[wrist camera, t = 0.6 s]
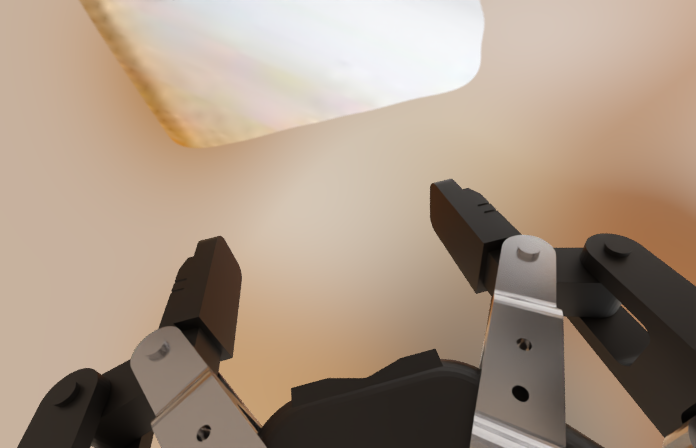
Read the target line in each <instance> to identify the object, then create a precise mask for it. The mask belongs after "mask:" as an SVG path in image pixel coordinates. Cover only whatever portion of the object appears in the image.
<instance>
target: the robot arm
mask: <svg viewBox="0 0 696 448" xmlns="http://www.w3.org/2000/svg"><path fill="white" fill-rule="evenodd" d="M430 219H431V223H432V226H433V228H434V231H435V232H436V234H437V235H438V237H439V238H440V240H441V241H442V243H443V244H444V246H445V247H446V249H447V250H448V252H449V253H450V255H451V256H452V258H453V259H454V261H455V263H456V264H457V265H458V267H459V269H460V270H461V271H462V273H463V275H464V276H465V278H466V279H467V281H468V282H469V283H470V285H471V287H472V288H473V289H474V291H475V293H476V294H477V293H481V292H484V291H488V292H489V293H490V295H491V296H492V298H491V303H490V309H489V314H488V320H487V326H486V332H485V337H484V343H483V349H482V354H481V360H480V364H479V368H477V367H475V366H472V365H469V364H467V363H464V362H460V361H455V360H447V359H440V358H439V356H438V353H437V351H436V349H433V350H429V351H425V352H421V353H418V354H415V355H410V356H407V357H404V358H400V359H398V360H397V361H395V362H394V363H392V364H390V365H388V366H387V367H385V368H383V369H381V370H380V371H379V372H376V373H375V374H373V375H372V376H369V377H367V378H327V379H323V380H319V381H316V382H312V383H308V384H305V385H301V386H297V387H294V388H291V395H292V400H291V401H290V402H288V403H286V404H285V405H284V406H282V407H281V408H280V409H279V410H277V411H276V412H275V413H274V414H273V415H272V416H271V417H270V418H269V420H268V421H267V422H266V423H265V424H264V426H262V425H261V424H260V423H259V421H258V420H257V419H256V418H255V417H254V416H253V414H252V413H251V412H250V411H249V409H248V408H247V407H246V406H245V404H244V403H243V402H242V400H241V399H240V398H239V397H238V395H237V394H236V393H235V392H234V390H233V389H232V388H231V386H230V385H229V384H228V383H227V381H226V380H225V379H224V378H223V376H222V375H221V374H220V373H219V372H218V371H219V364H220V361H223V360H227V359H230V358H232V357H233V350H234V340H235V332H236V324H237V316H238V307H239V299H240V290H241V281H242V276H241V270H240V267H239V264H238V262H237V261H236V259H235V257H234V255H233V254H232V252H231V250H230V248H229V247H228V245H227V243H226V241H225V240H224V238H223V237H222V236H217V237H214V238H209V239H205V240H201V241H199V243H198V244H197V248H196V251H195V255H194V256H193V257H190V258H188V259H187V260H186V261H185V263H184V264H183V265H182V266H181V268H180V269H179V271H178V274H177V277H176V280H175V284H174V285H173V288H172V293H171V294H170V297H169V300H168V303H167V305H166V308H165V311H164V314H163V317H162V320H161V323H160V326H159V329H158V330H156V331H154V332H152V333H151V334H149V335H148V336H146V337H145V338H144V339H143V340H142V341H141V342H140V343H139V344H138V346H137V347H136V349H135V350H134V352H133V354H132V357H131V359H130V360H128V361H127V362H124V363H123V364H121V365H119V366H117V367H115V368H113V369H111V370H110V371H108V372H106V373H104V374H102V375H101V374H100V373H98V372H96V371H95V370H94V369H90V368H84V369H80V370H77V371H75V372H73V373H71V374H69V375H67V376H66V377H64V378H63V379H62V380H60V381H59V382H58V383H57V384H56V385H54V387H52V388H51V390H50V391H49V392H48V393H47V394H46V396H45V397H44V398H43V400H42V401H41V403H40V405H39V407H38V409H37V411H36V413H35V415H34V416H33V418H32V420H31V422H30V424H29V426H28V428H27V430H26V432H25V434H24V436H23V438H22V439H21V441H20V443H19V445H18V447H17V448H90V446H92V447H94V448H150V447H151V443H152V439H153V434H155V436H156V438H157V440H158V442H159V444H160V446H161V448H604V447H602V446H601V445H599V444H598V443H596V442H594V441H593V440H591V439H590V438H588V437H587V436H585V435H583V434H582V433H580V432H579V431H577V430H576V429H574V428H572V427H571V426H569V425H568V424H566V423H565V381H564V380H565V378H564V331H563V316H566V317H567V318H568V319H569V320H570V322H571V323H572V324H573V325H574V326H575V328H576V329H577V330H578V331H579V333H580V334H581V335H582V336H583V338H584V339H585V340H586V341H587V343H588V344H589V345H590V346H591V348H593V350H594V351H595V352H596V354H597V355H598V356H599V357H600V359H601V360H602V361H603V362H604V364H605V365H606V366H607V367H608V368H609V370H610V371H611V372H612V373H613V375H614V376H615V377H616V378H617V380H618V381H619V382H620V383H621V384H622V386H623V387H624V388H625V390H626V391H627V392H628V393H629V394H630V396H631V397H632V398H633V399H634V401H635V402H636V403H637V404H638V406H639V407H640V408H641V409H642V411H643V412H644V413H645V414H646V415H647V417H648V418H649V419H650V420H651V422H652V423H653V424H654V425H655V426H656V428H657V429H658V430H659V432H660V433H661V434H662V435H663V436H664V437H665V440H664V442H663V448H696V286H694V285H693V284H692V283H690V282H689V281H688V280H686V279H685V278H684V277H683V276H681V275H680V274H679V273H677V272H676V271H675V270H673V269H672V268H671V267H669V266H668V265H667V264H665V263H664V262H663V261H661V260H660V259H659V258H657V257H656V256H654V255H653V254H652V253H651V252H650V251H648V250H647V249H646V248H644V247H643V246H642V245H640V244H639V243H637V242H635V241H634V240H631V239H629V238H627V237H624V236H620V235H616V234H596V235H593V236H591V237H590V238H588V239H587V241H586V243H585V245H584V248H553V247H552V246H551V245H550V244H549V243H547V242H546V241H544V240H542V239H540V238H537V237H534V236H530V235H522V234H521V233H519V232H518V231H517V230H516V229H515V228H514V227H513V226H512V225H511V224H510V223H509V222H508V221H507V220H506V219H505V218H504V217H503V216H502V215H501V214H500V213H499V212H498V211H496V209H495V208H494V207H493V206H492V205H491V204H489V202H488V201H487V200H486V199H485V198H484V197H483V196H482V195H481V194H480V193H478V192H475V191H473V190H471V189H469V188H466V189H462V188H461V187H460V186H459V185H458V184H457V183H456V182H455V181H454V180H453V179H448V180H444V181H440V182H436V183H432V184H431V186H430ZM621 304H623V305H624V306H625V307H626V308H627V309H628V310H629V311H630V312H631V313H632V314H633V315H634V316H635V317H636V318H637V319H638V320H639V321H640V322H641V323H642V324H643V325H644V326H645V328H646V329H647V331H648V332H647V331H646V330H645V329H644V328H643V327H642V326H641V325H640V324H639V323H638V322H637V321H636V320H635V319H634V318H633V317H632V316H631V315H630V314H629V313H628V312H627V311H626V310H625V309H624V308H623V307H622V306H621Z"/></svg>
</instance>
